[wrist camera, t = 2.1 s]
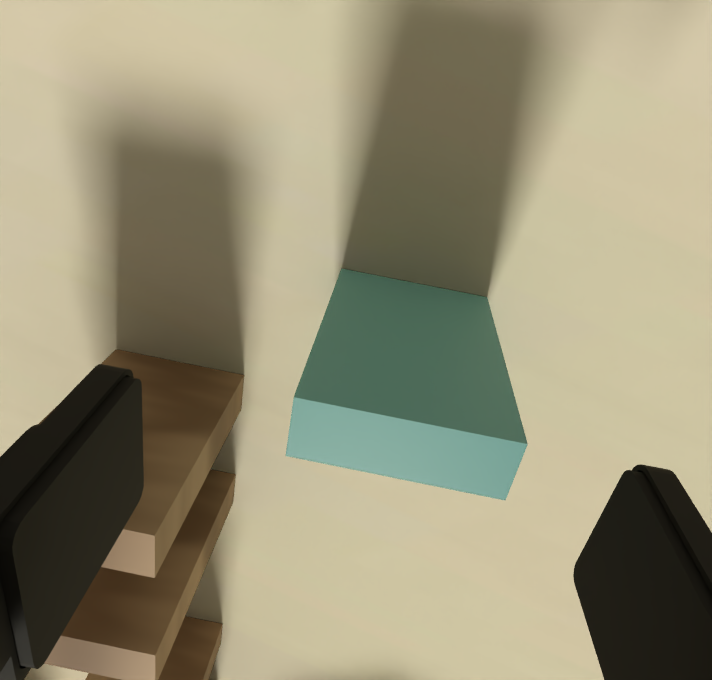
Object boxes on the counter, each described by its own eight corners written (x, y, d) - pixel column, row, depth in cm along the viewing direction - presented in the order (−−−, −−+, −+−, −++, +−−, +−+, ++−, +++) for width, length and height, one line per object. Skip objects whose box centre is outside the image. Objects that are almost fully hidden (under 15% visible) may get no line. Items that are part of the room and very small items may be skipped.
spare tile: (487, 297, 19) (527, 444, 12) (474, 338, 19) (505, 500, 12) (341, 268, 19) (293, 397, 12) (334, 310, 20) (285, 455, 12)
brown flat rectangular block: (244, 375, 21) (154, 535, 14) (241, 409, 22) (154, 578, 15) (116, 349, 21) (-38, 495, 14) (117, 384, 22) (-28, 540, 15)
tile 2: (235, 474, 23) (155, 655, 16) (233, 502, 24) (155, 686, 17) (120, 450, 24) (-10, 620, 16) (121, 479, 24) (-2, 653, 17)
